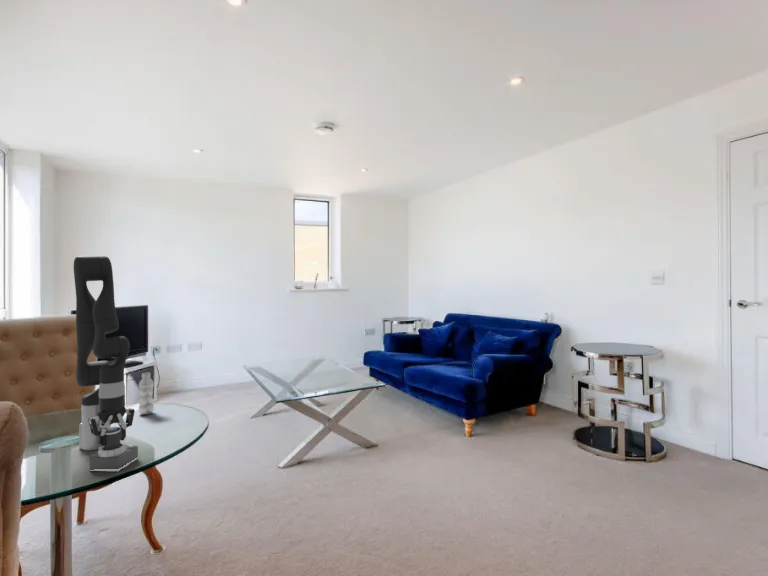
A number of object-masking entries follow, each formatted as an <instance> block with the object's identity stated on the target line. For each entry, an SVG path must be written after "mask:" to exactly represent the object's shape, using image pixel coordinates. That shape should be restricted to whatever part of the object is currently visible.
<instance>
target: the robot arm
mask: <svg viewBox="0 0 768 576" xmlns="http://www.w3.org/2000/svg"><path fill="white" fill-rule="evenodd" d="M73 278H74V287H75V298H76V299H75V301H76V302H75V304H76V305H75V307H76V310H75V313H76V314H75V325H76V326H75V327H76V330H75V331H76V342H77V343H76V344H77V351H76V352H77V353H76V354H77V355H76V372H75V373H76V374H75V375H76V378H75V379H76V383H77V385H78V386H79V387H80V388H81V387H90V386H91V387H92V386H93V387H94V386H98V388H97V389H95V390H93V391H92V392H90V393H87V394H85V395H83V396H82V397H81V400H80V401H81V402H80V403H81V423H79V424H78V426H79V427H78V439H79V440H78V444H79V445H78V448H79V449H80V450H83V451H96V450H99V448H100V447H102V446H105V435H104V434H105V432H106V429H108V428H111V425H113V424H117V425H118V427H119V428H120V442H122V441H125V439H126V437H127V429H128V428H130V427H132V426H133V421H134V416H135V412H136V411H135V408H131V407H129V408H126V391H125V390H126V385H125V367H126V362H127V358H128V356H129V352H130V349H131V348H130V347H131V343H130V341H129V339H128V338H127V337H126V336H124V335H123V336H122V335H119V336H111V337H110V336H109V337H106V335H107V334H108V335H109V334H112V333H115V332H116V331H118V330H119V328H120V322H119V319H118V313H117V310H116V304H115V303H116V302H115V286H114V273H113V265H112V262H111V260H110V257H108V256H106V255H77V256H75V258H74V260H73ZM96 281H97V282H99V281H101V282H102V287H101V288H102V289H101V291H100V294H98V296H97V298H96V299H95V298H94V296H93V295H92V293H91V292H90V290H89V288H88V286H87V282H96ZM91 353H93V354H94V356H95V357H96V358H98V359H103V360H98V361H97V360H95V361H88V359H89V356H90V355H91ZM110 358H114V359H113V360H112V361H111V362H110V361H109V360H104V359H110ZM125 415H126V418H125V420H124V418H123V417H124V416H125Z"/></svg>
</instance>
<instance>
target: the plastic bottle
mask: <svg viewBox="0 0 768 576" xmlns="http://www.w3.org/2000/svg"><path fill="white" fill-rule="evenodd" d="M154 386H155V383H154V381H153V379H152V378H151V372H148V371H147V372H142V373H141V379H140V381H139V383H138V389H139V390H138V391H139V406H138V413H139V414H140V415H141V416H142V415H143V416H144V415H150V414H153V412H154V410H155V405H154V398H153V394H154V393H153V391H154Z"/></svg>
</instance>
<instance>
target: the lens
mask: <svg viewBox="0 0 768 576" xmlns="http://www.w3.org/2000/svg"><path fill="white" fill-rule="evenodd" d="M104 435H105V446H104V450H113V449H117V448H119V447H120V442H121V440H120V427H119V426H112V427H111V428H108V429H106V432H105V434H104Z"/></svg>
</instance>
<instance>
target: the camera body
mask: <svg viewBox="0 0 768 576" xmlns="http://www.w3.org/2000/svg"><path fill="white" fill-rule="evenodd" d="M138 446H139V445H133V444H128V445H127V443H126V442H122V441H120V447H119V448H117V449H113V450H104V446H102V447H100V448H99V449H97V450H98V451H97V452H96V453H94V454H93V455H91V456H89V471H90V470H94V469H119V468H121V467H123V466H124V465H126V464H127V463H129V462H131V461H132V460H134V459H135V458H137V457H138V458H139V447H138Z"/></svg>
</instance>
